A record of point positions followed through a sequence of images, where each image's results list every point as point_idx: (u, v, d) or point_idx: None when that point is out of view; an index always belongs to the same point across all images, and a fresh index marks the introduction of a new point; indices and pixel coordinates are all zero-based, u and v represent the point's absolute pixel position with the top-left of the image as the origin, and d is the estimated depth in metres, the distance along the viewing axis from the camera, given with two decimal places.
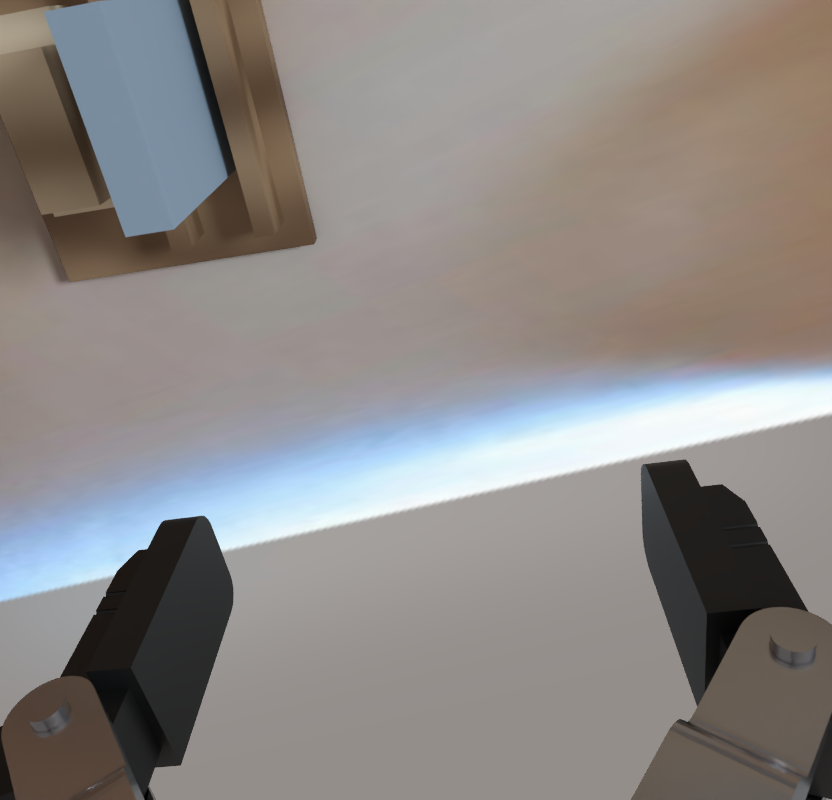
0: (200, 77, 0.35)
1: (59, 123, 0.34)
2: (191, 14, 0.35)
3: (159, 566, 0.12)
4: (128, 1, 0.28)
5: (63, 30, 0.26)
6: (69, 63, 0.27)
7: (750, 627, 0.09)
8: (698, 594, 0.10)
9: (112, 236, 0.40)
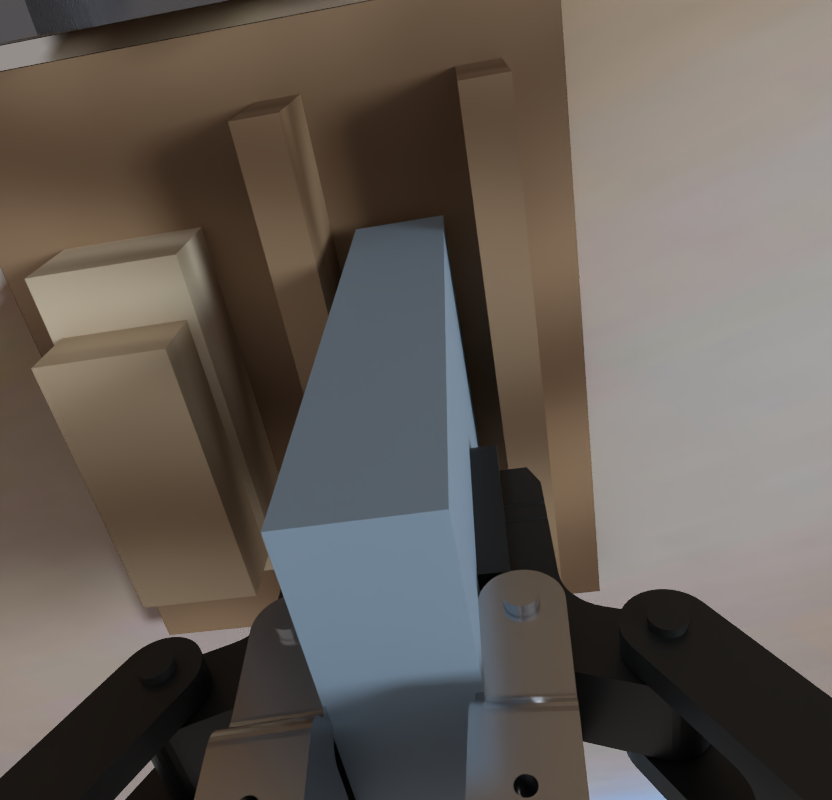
0: (467, 387, 0.17)
1: (191, 473, 0.17)
2: (449, 257, 0.17)
3: None
4: (447, 388, 0.10)
5: (317, 572, 0.08)
6: (321, 641, 0.09)
7: (485, 601, 0.10)
8: None
9: None
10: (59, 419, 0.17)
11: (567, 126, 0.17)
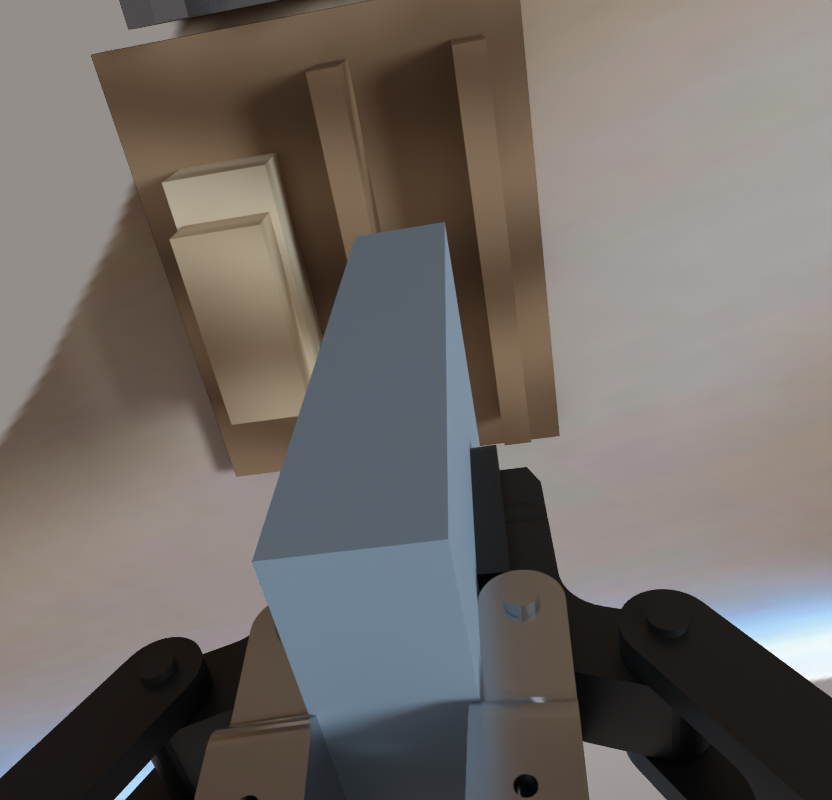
0: (468, 397, 0.17)
1: (271, 317, 0.25)
2: (450, 265, 0.16)
3: None
4: (448, 406, 0.10)
5: (311, 603, 0.08)
6: (316, 672, 0.08)
7: (485, 601, 0.10)
8: None
9: None
10: (185, 276, 0.25)
11: (526, 80, 0.25)
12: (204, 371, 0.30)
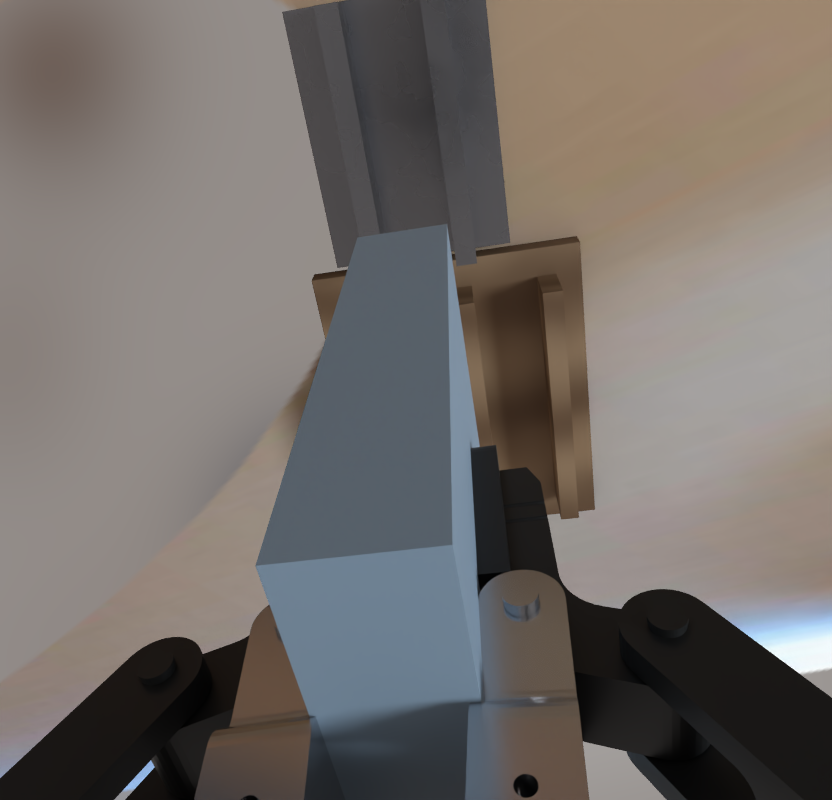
0: (469, 400, 0.17)
1: None
2: (452, 267, 0.16)
3: None
4: (451, 410, 0.10)
5: (314, 607, 0.08)
6: (318, 676, 0.08)
7: (485, 601, 0.10)
8: None
9: None
10: None
11: (582, 299, 0.40)
12: None
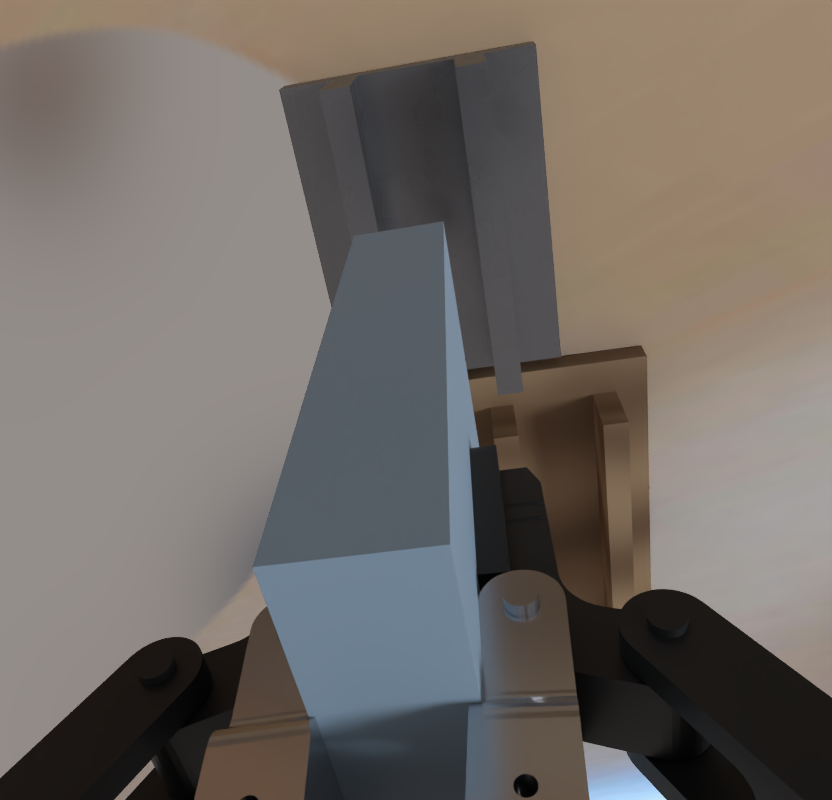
0: (467, 397, 0.16)
1: None
2: (449, 265, 0.16)
3: None
4: (448, 408, 0.10)
5: (312, 608, 0.08)
6: (317, 677, 0.08)
7: (485, 601, 0.10)
8: None
9: None
10: None
11: (647, 419, 0.33)
12: None
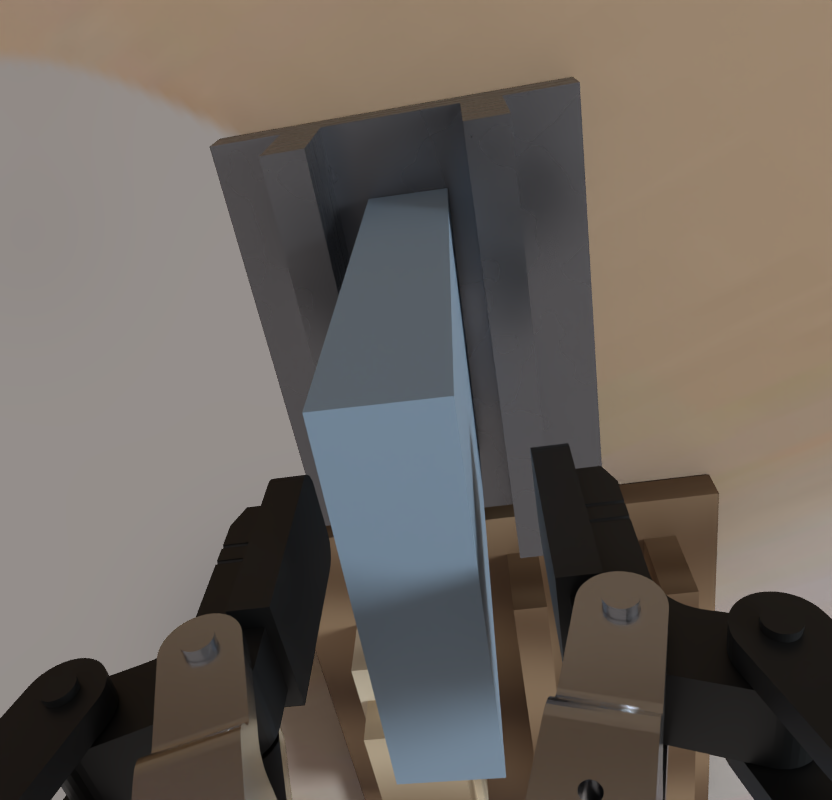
0: (464, 342, 0.19)
1: (456, 793, 0.25)
2: (451, 226, 0.19)
3: (277, 519, 0.13)
4: (452, 317, 0.12)
5: (345, 449, 0.10)
6: (345, 512, 0.11)
7: (583, 597, 0.10)
8: (551, 561, 0.11)
9: None
10: (374, 765, 0.25)
11: (715, 569, 0.25)
12: (358, 766, 0.30)
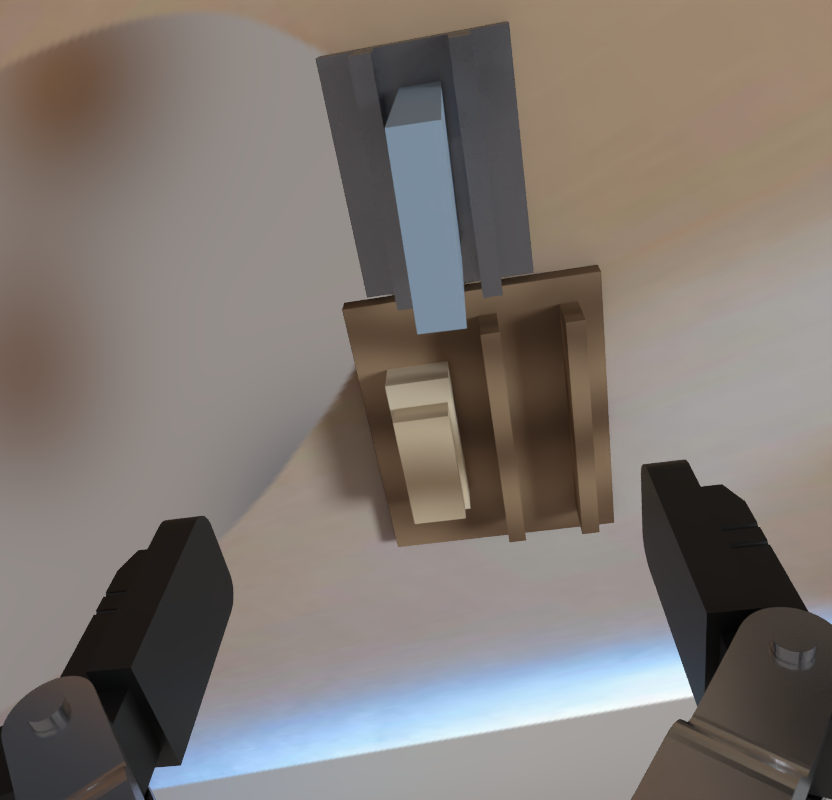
0: (450, 164, 0.35)
1: (448, 464, 0.42)
2: (443, 101, 0.35)
3: (159, 566, 0.12)
4: (441, 109, 0.29)
5: (400, 145, 0.27)
6: (399, 175, 0.27)
7: (750, 627, 0.09)
8: (698, 594, 0.10)
9: None
10: (399, 442, 0.41)
11: (603, 325, 0.41)
12: (385, 483, 0.47)
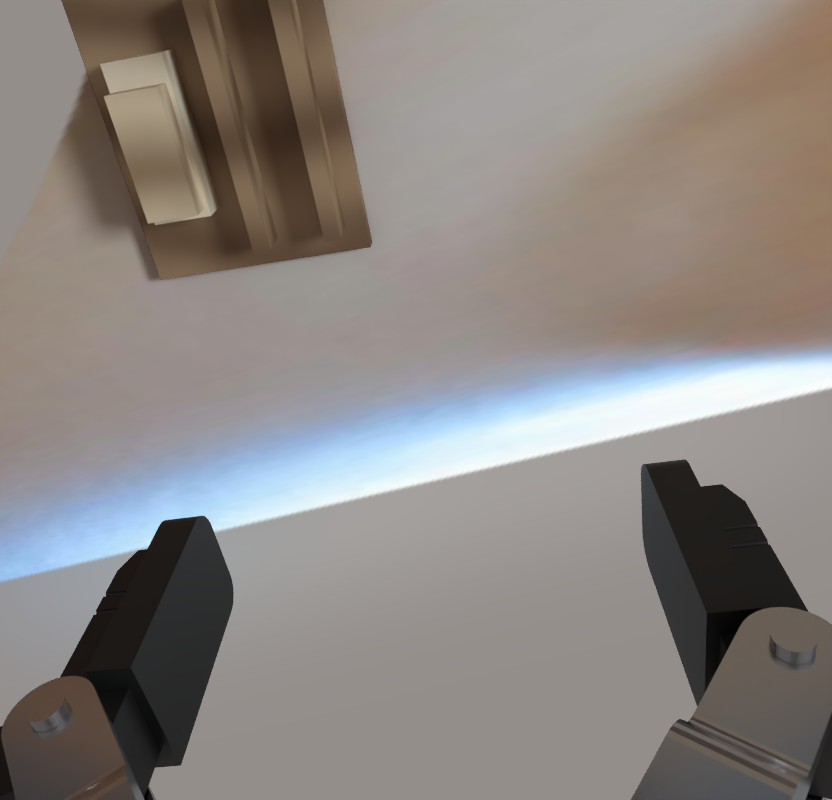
0: None
1: (168, 148, 0.41)
2: None
3: (159, 566, 0.12)
4: None
5: None
6: None
7: (750, 627, 0.09)
8: (698, 594, 0.10)
9: (199, 240, 0.48)
10: (114, 121, 0.41)
11: (319, 2, 0.41)
12: (135, 200, 0.46)
